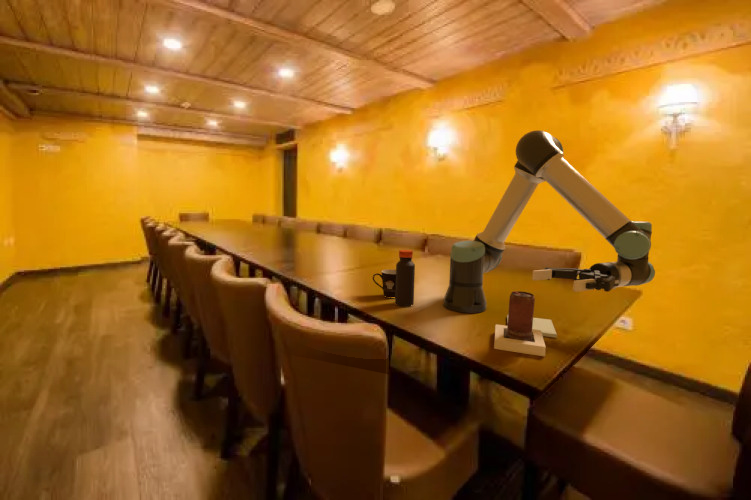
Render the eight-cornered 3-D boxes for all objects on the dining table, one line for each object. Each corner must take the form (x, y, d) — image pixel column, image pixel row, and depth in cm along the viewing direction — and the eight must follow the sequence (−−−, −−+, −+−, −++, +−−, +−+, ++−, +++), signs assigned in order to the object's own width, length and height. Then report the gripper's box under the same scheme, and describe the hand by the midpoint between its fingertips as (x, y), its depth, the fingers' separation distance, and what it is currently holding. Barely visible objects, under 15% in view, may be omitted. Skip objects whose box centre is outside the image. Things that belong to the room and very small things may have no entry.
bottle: (411, 308, 122) (413, 252, 119) (393, 305, 124) (394, 251, 121) (415, 302, 128) (417, 250, 125) (397, 300, 130) (399, 248, 128)
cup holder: (494, 348, 89) (494, 339, 89) (495, 332, 100) (495, 324, 100) (544, 356, 85) (545, 347, 85) (540, 338, 96) (540, 330, 96)
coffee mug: (406, 296, 137) (407, 271, 136) (393, 300, 131) (393, 275, 129) (384, 290, 145) (385, 267, 143) (370, 294, 138) (371, 270, 137)
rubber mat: (507, 331, 102) (507, 327, 101) (507, 317, 114) (507, 314, 113) (556, 337, 97) (556, 334, 97) (550, 322, 109) (551, 319, 109)
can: (512, 337, 97) (516, 289, 95) (534, 344, 92) (539, 294, 90) (501, 342, 93) (504, 292, 91) (523, 350, 88) (528, 298, 86)
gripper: (653, 298, 89) (594, 306, 82) (570, 278, 113) (518, 283, 106) (656, 270, 88) (596, 276, 81) (572, 256, 112) (520, 259, 105)
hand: (552, 280), depth 93 cm, fingers open, 13 cm apart
